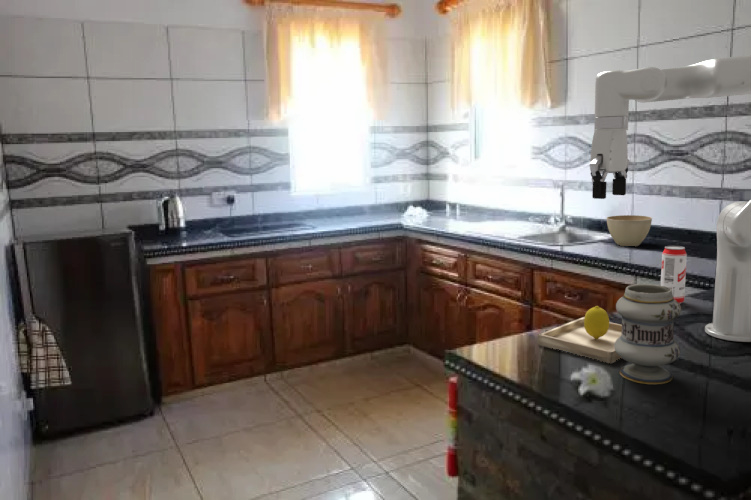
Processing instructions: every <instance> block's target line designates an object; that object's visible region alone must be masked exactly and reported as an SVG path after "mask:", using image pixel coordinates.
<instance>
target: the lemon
mask: <svg viewBox="0 0 751 500" xmlns="http://www.w3.org/2000/svg"><path fill="white" fill-rule="evenodd" d="M584 315H585V316H584V317H585V318H584V327H585V330H586V332H587V333H588V334H589V335H590V336H592V337H594V339H598V338H599V337H602V336H604V335H605V334H606V333H607V331H608V329H609V322H610V319H609V315H608V313H607V311H606V310H605V309H604V308H602V307H600V306H599V305H595V306H593V307H591V308H589V309H588V310H587V311H586V312H585V314H584Z"/></svg>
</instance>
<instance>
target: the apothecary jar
mask: <svg viewBox="0 0 751 500" xmlns="http://www.w3.org/2000/svg"><path fill="white" fill-rule="evenodd" d="M615 309H616V312H617V313H618V314H619V315H620V316H621V325H622V333H621V336H620V337H619V338H618V339H617V340H616V342H615V345H614V347H615V351H616V352H617V354H618V355H619V356H620V357H621V359H622V360H624V361H626V362H629V364H626V365H624V366H622V367H620V370H619V375H620V376H621V377H622V378H624V379H625V380H627V381H628V380H629V381H631V382H634V383H639V384H642V385H643V384H644V385H663V384H667V383H669V382H672V380H673V378H674V377H673V374H672V373H671V372H670V371H669V370H668V369H665V368H663V367H661V366H665V365H669V364H672V363H673V362H675V361H677V360H678V358H680V355H681V347H680V345H679V343H678V342H677V341H676V340H675V339H674V337H675V335H674V333H675V332H674V331H675V330H674V328H675V326H674V325H675V324H674V323H675V319H677V318H678V317H680V315H681V314H682V306H681V304H679V303H678V302H677V301H676V300H675V299H673V295H672V289H671V288H669V287H665V286H661V284H660V285H658V284H649V283H641V284H640V283H639V284H630V285H627V286H626V287H625V290H624V293H623V296H621V297H620V298H619V299H618V300H617V301H616V303H615Z"/></svg>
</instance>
